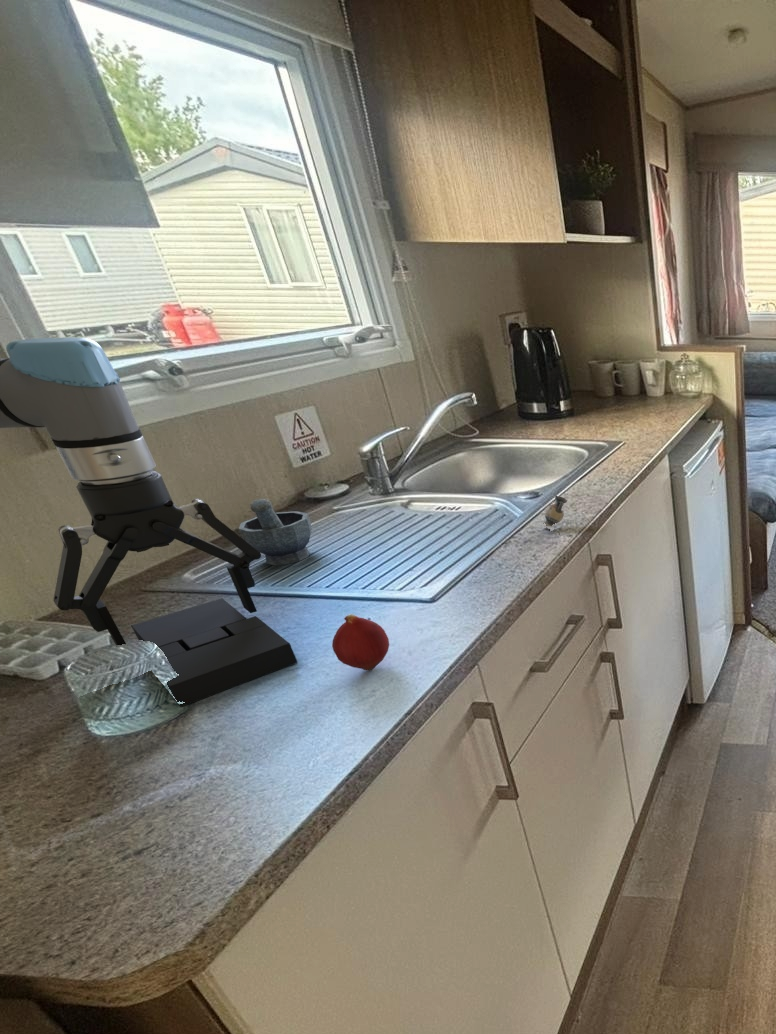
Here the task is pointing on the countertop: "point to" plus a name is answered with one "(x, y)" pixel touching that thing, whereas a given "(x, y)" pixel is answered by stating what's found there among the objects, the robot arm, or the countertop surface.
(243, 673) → the notch pad
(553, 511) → the vase
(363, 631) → the onion
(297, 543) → the mortar and pestle
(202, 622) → the pad
